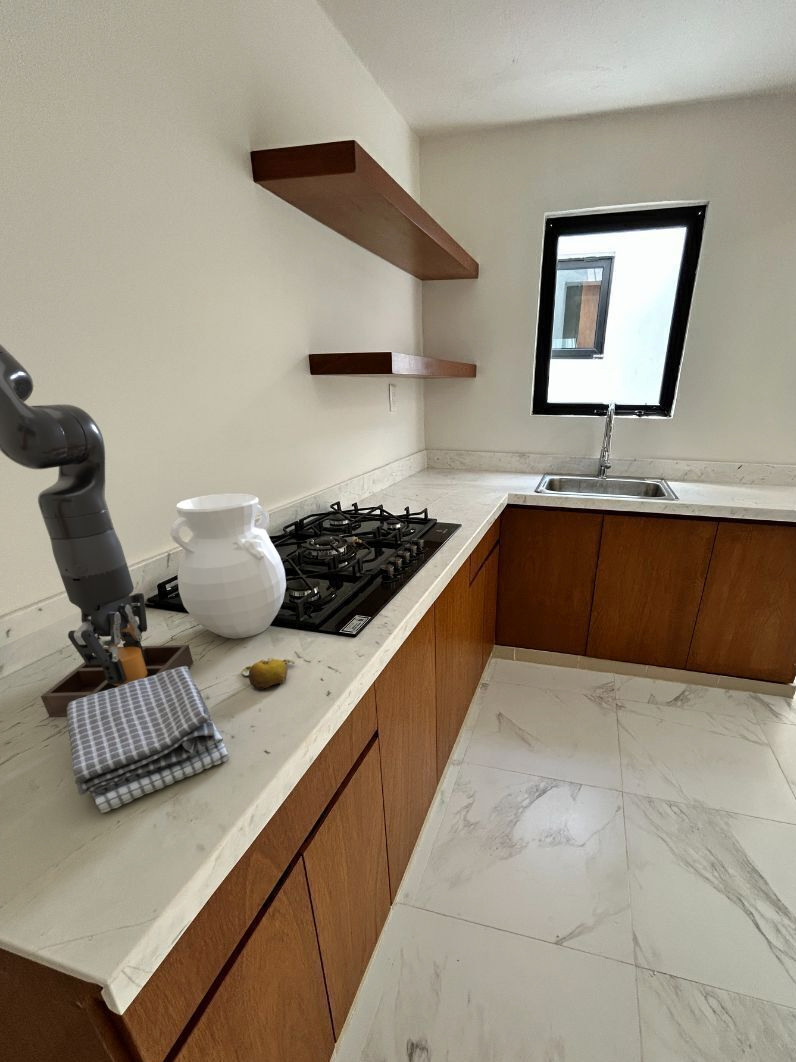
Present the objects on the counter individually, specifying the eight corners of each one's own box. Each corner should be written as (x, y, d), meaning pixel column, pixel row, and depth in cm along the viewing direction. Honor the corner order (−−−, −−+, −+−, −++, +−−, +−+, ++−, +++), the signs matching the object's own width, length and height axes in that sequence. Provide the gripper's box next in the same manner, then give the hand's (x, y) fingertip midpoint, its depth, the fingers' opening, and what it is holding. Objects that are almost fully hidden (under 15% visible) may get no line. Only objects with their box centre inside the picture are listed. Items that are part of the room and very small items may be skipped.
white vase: (265, 600, 110) (244, 486, 100) (310, 625, 98) (291, 498, 88) (176, 629, 98) (141, 502, 88) (215, 661, 86) (180, 519, 76)
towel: (198, 698, 76) (186, 653, 72) (233, 765, 62) (219, 713, 59) (78, 739, 67) (58, 690, 64) (87, 826, 54) (63, 770, 51)
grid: (49, 717, 72) (40, 696, 71) (109, 665, 85) (102, 646, 84) (149, 714, 72) (142, 693, 71) (193, 662, 85) (188, 644, 84)
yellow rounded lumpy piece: (293, 660, 85) (289, 641, 84) (298, 685, 78) (295, 665, 77) (241, 670, 83) (237, 651, 81) (242, 697, 76) (237, 676, 74)
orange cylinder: (105, 686, 72) (96, 662, 70) (123, 669, 76) (115, 646, 75) (137, 685, 72) (129, 661, 70) (153, 668, 76) (146, 646, 75)
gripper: (98, 548, 73) (130, 650, 80) (24, 584, 60) (70, 702, 67) (149, 547, 74) (176, 648, 80) (87, 583, 60) (126, 700, 67)
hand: (128, 672), depth 74 cm, fingers closed on orange cylinder, 4 cm apart
